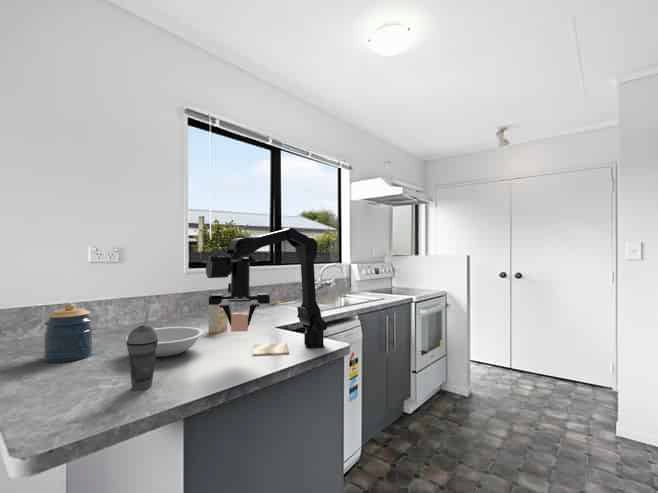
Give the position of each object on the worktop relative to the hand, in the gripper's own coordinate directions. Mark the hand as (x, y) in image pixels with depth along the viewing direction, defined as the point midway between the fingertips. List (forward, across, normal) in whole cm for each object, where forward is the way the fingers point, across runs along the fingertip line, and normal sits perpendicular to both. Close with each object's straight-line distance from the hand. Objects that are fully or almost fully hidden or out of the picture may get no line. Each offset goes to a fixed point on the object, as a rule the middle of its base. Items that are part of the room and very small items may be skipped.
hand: (239, 325), depth 113 cm
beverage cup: (+11, +23, +19) cm, 32 cm away
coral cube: (+1, 0, 0) cm, 1 cm away
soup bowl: (+11, +25, -11) cm, 30 cm away
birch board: (+11, -10, -10) cm, 18 cm away
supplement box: (+11, +12, -43) cm, 46 cm away
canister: (+11, +55, -12) cm, 57 cm away
